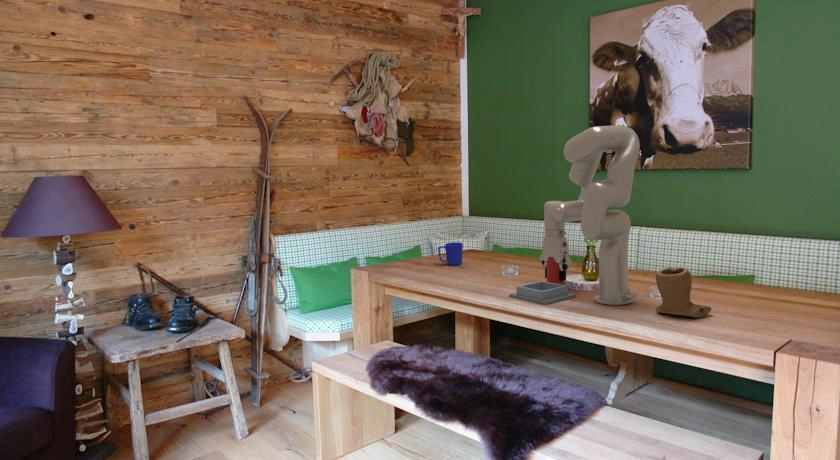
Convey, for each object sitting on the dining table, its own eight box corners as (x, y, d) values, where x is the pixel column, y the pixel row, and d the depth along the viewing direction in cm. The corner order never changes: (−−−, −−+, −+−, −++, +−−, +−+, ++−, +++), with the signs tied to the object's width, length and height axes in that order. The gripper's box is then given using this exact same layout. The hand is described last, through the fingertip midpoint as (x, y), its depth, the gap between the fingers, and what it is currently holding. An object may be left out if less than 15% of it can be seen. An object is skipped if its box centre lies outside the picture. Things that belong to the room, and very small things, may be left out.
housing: (576, 297, 237) (576, 286, 236) (545, 305, 227) (545, 293, 227) (539, 289, 251) (539, 279, 251) (508, 296, 242) (508, 286, 241)
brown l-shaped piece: (648, 315, 209) (647, 268, 207) (666, 307, 217) (666, 262, 215) (695, 323, 198) (695, 274, 196) (712, 315, 206) (712, 267, 204)
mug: (436, 264, 314) (435, 244, 312) (459, 262, 317) (459, 241, 316) (441, 267, 306) (440, 246, 304) (466, 265, 309) (465, 244, 308)
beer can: (564, 288, 251) (564, 257, 250) (546, 288, 253) (546, 257, 251) (564, 284, 258) (563, 254, 256) (547, 284, 259) (546, 254, 257)
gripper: (579, 234, 248) (579, 280, 250) (544, 230, 262) (545, 274, 264) (565, 236, 243) (566, 283, 246) (531, 232, 257) (532, 277, 259)
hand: (555, 278), depth 255 cm, fingers closed on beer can, 6 cm apart
